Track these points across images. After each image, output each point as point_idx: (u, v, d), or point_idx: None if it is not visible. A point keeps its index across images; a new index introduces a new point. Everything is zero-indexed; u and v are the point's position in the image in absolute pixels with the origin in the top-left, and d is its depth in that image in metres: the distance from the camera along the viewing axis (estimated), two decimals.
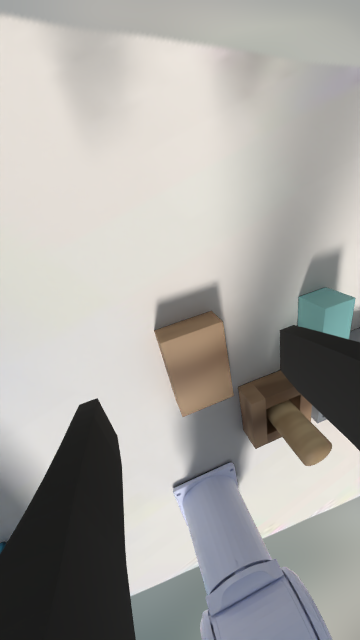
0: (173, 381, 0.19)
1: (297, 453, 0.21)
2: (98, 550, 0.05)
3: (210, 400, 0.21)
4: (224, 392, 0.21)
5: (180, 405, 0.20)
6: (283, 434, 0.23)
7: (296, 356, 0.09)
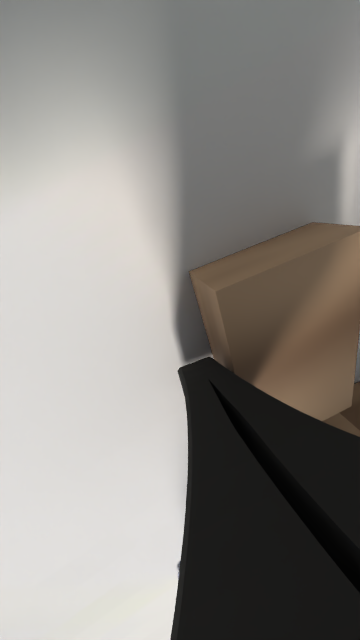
0: None
1: None
2: None
3: None
4: (337, 401, 0.10)
5: None
6: None
7: None
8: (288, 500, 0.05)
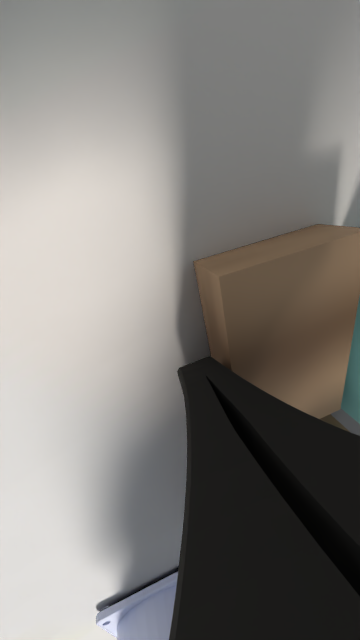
0: None
1: None
2: None
3: None
4: (327, 402, 0.10)
5: None
6: None
7: None
8: (290, 499, 0.05)
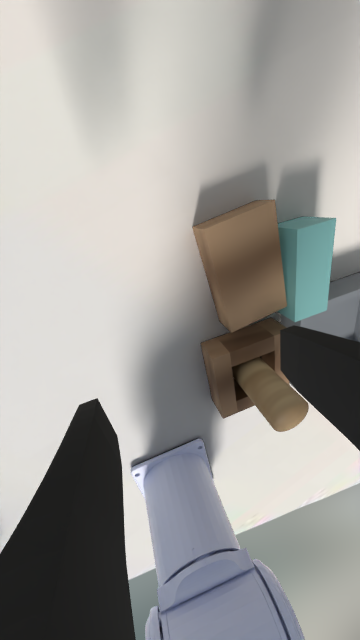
0: (220, 283, 0.16)
1: (266, 416, 0.17)
2: (98, 550, 0.05)
3: (261, 311, 0.18)
4: (276, 301, 0.19)
5: (228, 317, 0.18)
6: (251, 396, 0.19)
7: (296, 356, 0.09)
8: None
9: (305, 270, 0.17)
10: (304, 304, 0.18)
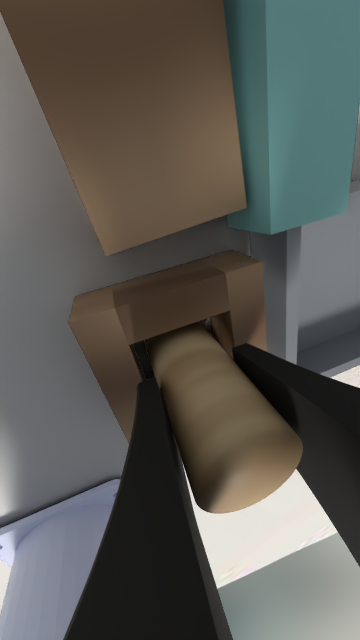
0: (34, 75, 0.05)
1: (186, 471, 0.06)
2: (188, 507, 0.05)
3: (183, 209, 0.08)
4: (221, 186, 0.08)
5: (88, 206, 0.07)
6: (167, 412, 0.08)
7: None
8: (353, 467, 0.05)
9: (292, 63, 0.06)
10: (293, 184, 0.07)
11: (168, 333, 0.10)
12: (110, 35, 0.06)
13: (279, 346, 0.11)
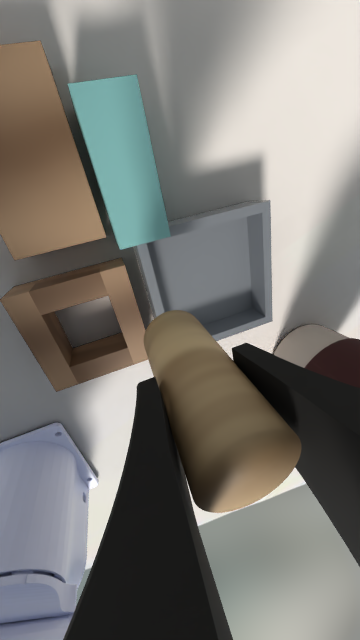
0: None
1: (184, 471, 0.06)
2: (188, 507, 0.05)
3: (62, 236, 0.13)
4: (86, 224, 0.13)
5: (2, 232, 0.12)
6: None
7: None
8: (353, 468, 0.05)
9: (108, 163, 0.12)
10: (127, 222, 0.13)
11: (167, 333, 0.10)
12: (10, 152, 0.11)
13: None
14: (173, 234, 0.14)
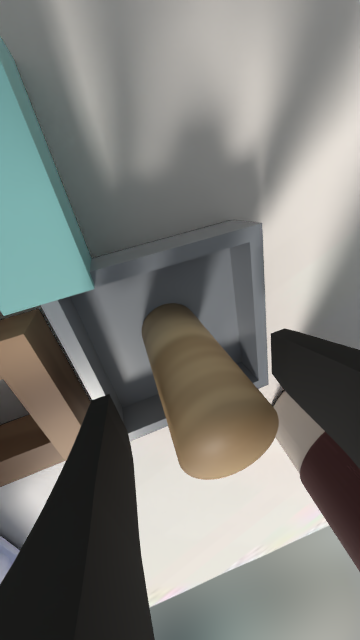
0: None
1: None
2: (117, 541, 0.05)
3: None
4: None
5: None
6: (158, 392, 0.08)
7: (286, 360, 0.09)
8: None
9: None
10: (8, 271, 0.07)
11: (162, 322, 0.10)
12: None
13: None
14: (103, 282, 0.09)
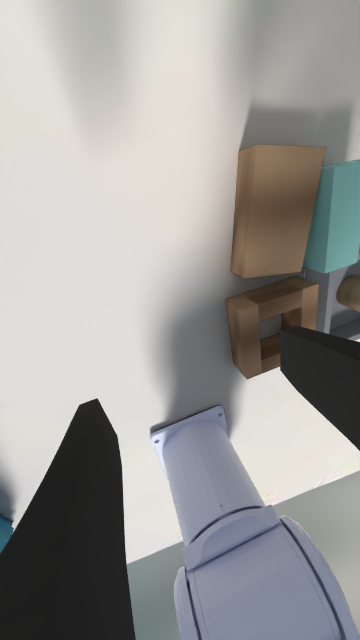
0: (251, 215, 0.16)
1: None
2: (98, 550, 0.05)
3: (278, 266, 0.18)
4: (294, 261, 0.18)
5: (247, 258, 0.17)
6: None
7: (296, 356, 0.09)
8: None
9: (338, 215, 0.16)
10: (335, 254, 0.18)
11: None
12: (278, 208, 0.16)
13: (320, 325, 0.22)
14: None
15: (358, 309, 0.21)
